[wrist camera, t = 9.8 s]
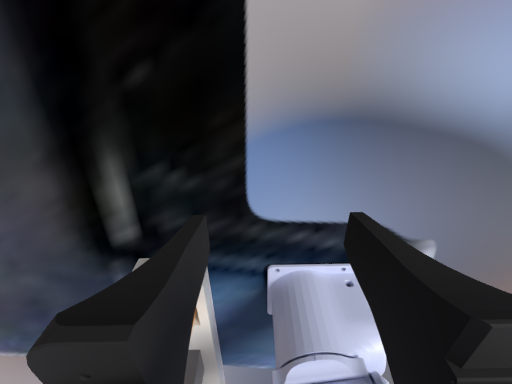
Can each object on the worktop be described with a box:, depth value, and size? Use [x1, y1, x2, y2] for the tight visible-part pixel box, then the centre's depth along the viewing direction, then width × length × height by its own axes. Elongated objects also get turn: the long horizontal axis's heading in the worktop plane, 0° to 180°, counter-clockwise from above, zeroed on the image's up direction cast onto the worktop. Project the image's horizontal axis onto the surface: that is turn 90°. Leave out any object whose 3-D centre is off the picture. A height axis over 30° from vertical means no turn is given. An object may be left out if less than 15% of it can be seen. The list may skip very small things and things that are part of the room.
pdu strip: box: [133, 258, 226, 384], centre depth 30 cm, size 7×28×7 cm, turn 1°
